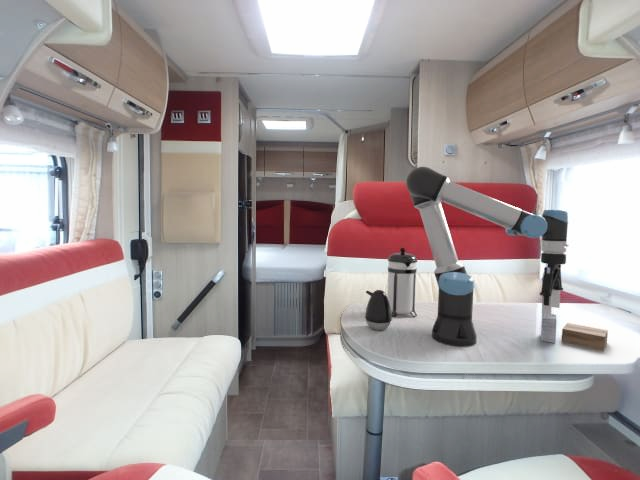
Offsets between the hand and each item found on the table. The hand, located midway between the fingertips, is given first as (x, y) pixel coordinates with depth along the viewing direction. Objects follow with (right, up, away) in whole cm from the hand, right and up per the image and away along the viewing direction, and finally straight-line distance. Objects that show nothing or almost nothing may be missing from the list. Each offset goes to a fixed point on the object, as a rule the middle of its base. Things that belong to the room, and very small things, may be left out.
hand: (550, 310), depth 129 cm
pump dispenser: (-61, -9, +10) cm, 63 cm away
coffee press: (-48, -8, +32) cm, 58 cm away
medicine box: (-1, -11, +1) cm, 11 cm away
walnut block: (+11, -11, -2) cm, 16 cm away
